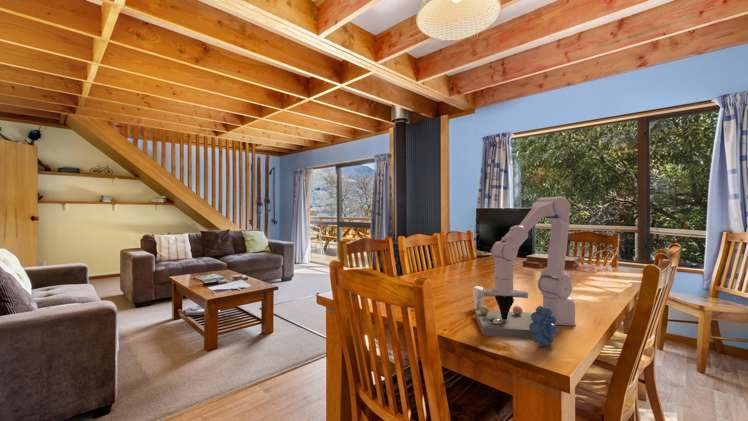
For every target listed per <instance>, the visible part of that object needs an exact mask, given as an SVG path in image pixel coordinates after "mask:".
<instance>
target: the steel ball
mask: <svg viewBox="0 0 748 421" xmlns="http://www.w3.org/2000/svg"><path fill="white" fill-rule="evenodd" d="M492 323H502V321H501V320H500V319H494V320H493V322H492Z"/></svg>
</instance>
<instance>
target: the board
mask: <svg viewBox="0 0 748 421" xmlns="http://www.w3.org/2000/svg"><path fill="white" fill-rule="evenodd" d="M531 314H532V313H531V312H527V311H526V312H525V311H523V312H522V314H521V315H516V314H514V313H513V311H509V313H508V317H507V320H503V319H502V318H501V312H500V310H489V312H488V313H487V314H485V315H484V314H482V313H481V312H480V310H475V309H474V317H475V320H476V322H477V324H478V327H479V328H480V331H481V334H482V336H484V337H486V336H487V337H501V338H503V337H506V338H520V339H521V338H522V339H532V334H533V332H531V330H530V328H529V325H530V324H531V323H533V320H532V319H531ZM494 319H500V320H501V321H502V323H492V322H493V320H494Z"/></svg>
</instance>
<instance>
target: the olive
mask: <svg viewBox="0 0 748 421" xmlns="http://www.w3.org/2000/svg"><path fill="white" fill-rule="evenodd" d="M479 310H480V312H481V313H482V314H484V315H485V314H487V313H488V312H489V311H490V308H489V307H488V305H485V304H484V305H482V306H481V307H480V309H479Z"/></svg>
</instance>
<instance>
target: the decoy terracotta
mask: <svg viewBox="0 0 748 421" xmlns="http://www.w3.org/2000/svg"><path fill="white" fill-rule="evenodd" d="M512 312H513V313H514V314H516V315H521V314H522V312H524V310H523V308H522V307H521V306H520V305H515V306H513V308H512Z"/></svg>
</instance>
